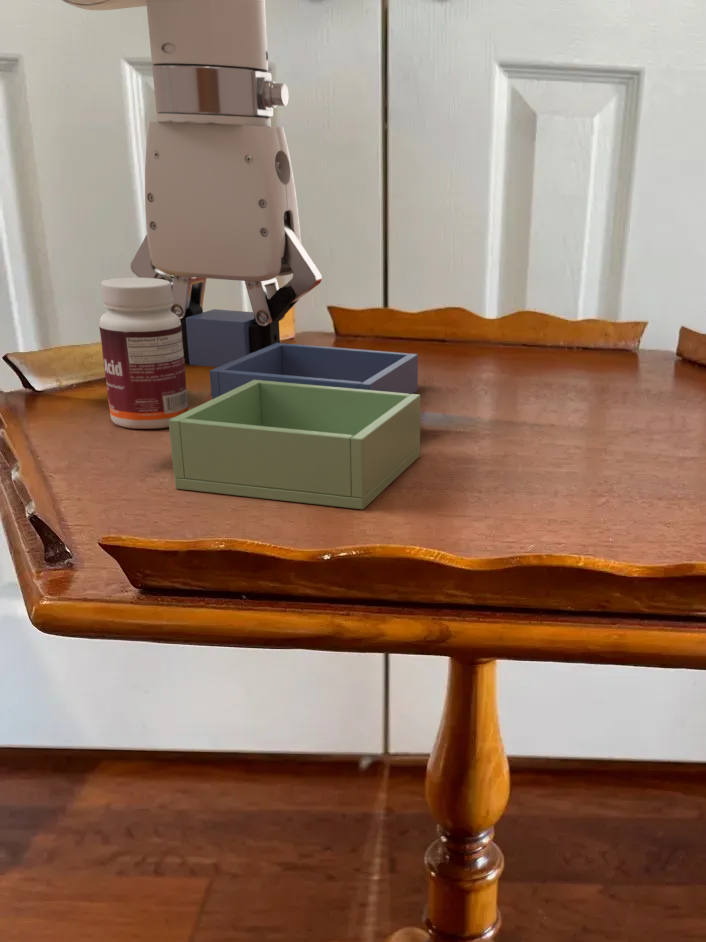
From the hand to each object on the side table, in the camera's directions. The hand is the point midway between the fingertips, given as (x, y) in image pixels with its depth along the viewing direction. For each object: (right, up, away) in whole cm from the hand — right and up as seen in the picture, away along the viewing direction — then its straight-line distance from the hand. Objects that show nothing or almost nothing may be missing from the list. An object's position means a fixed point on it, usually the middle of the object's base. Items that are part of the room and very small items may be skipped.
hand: (232, 372), depth 77 cm
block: (0, 0, 0) cm, 0 cm away
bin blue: (+8, -6, -10) cm, 14 cm away
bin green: (+9, -11, -20) cm, 25 cm away
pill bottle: (-2, -6, -12) cm, 14 cm away
